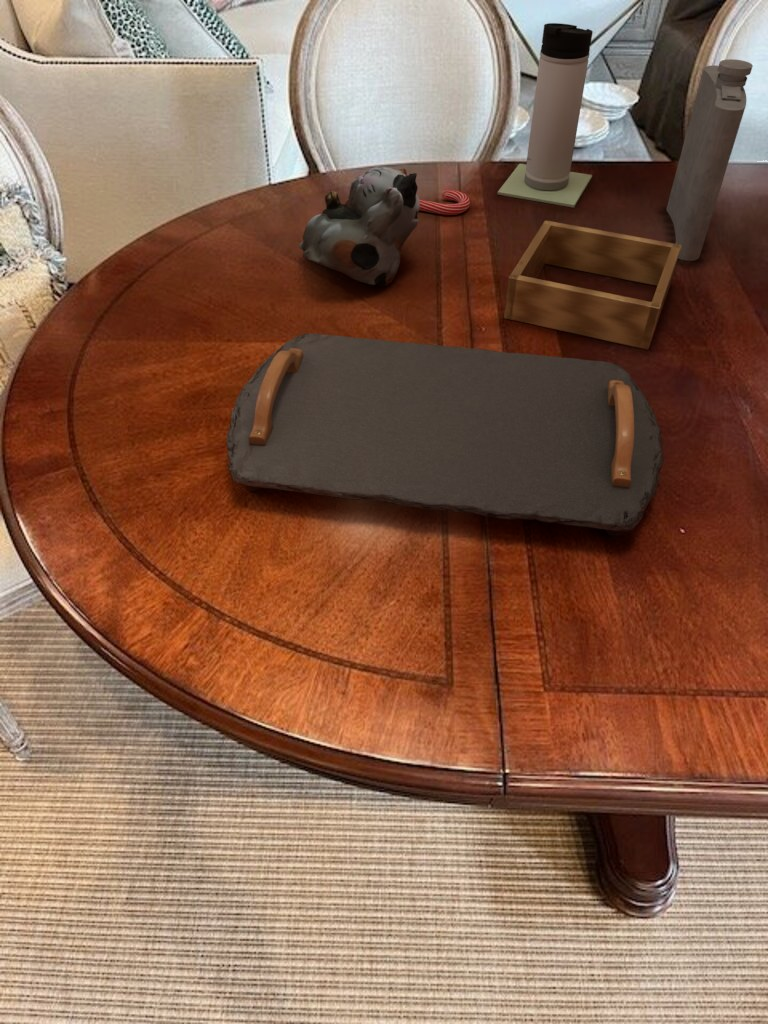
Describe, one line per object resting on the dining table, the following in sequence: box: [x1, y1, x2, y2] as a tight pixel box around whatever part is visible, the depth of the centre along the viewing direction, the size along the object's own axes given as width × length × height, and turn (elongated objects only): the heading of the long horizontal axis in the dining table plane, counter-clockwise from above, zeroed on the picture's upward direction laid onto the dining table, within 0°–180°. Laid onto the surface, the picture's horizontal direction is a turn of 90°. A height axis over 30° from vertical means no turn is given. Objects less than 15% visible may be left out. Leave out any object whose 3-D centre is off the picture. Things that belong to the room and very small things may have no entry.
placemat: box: [496, 163, 593, 208], centre depth 112 cm, size 11×11×1 cm
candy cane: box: [419, 189, 471, 216], centre depth 108 cm, size 6×15×2 cm, turn 68°
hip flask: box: [666, 58, 754, 262], centre depth 95 cm, size 16×4×20 cm, turn 169°
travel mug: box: [524, 22, 594, 191], centre depth 105 cm, size 6×7×20 cm
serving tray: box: [226, 333, 665, 538], centre depth 70 cm, size 39×23×6 cm, turn 80°
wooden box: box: [503, 220, 682, 350], centre depth 88 cm, size 16×15×5 cm
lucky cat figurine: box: [298, 166, 421, 288], centre depth 92 cm, size 15×12×14 cm
